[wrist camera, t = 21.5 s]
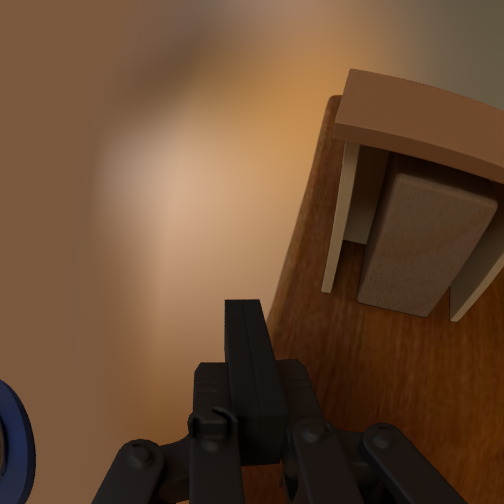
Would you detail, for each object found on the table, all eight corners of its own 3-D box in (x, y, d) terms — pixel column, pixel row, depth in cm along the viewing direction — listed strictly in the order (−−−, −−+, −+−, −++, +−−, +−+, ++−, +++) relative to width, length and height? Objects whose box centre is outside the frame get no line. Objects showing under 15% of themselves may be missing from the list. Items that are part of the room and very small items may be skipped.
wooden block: (355, 303, 39) (397, 176, 23) (365, 244, 45) (395, 121, 29) (426, 319, 36) (500, 206, 21) (428, 259, 42) (479, 145, 26)
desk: (461, 336, 34) (571, 196, 15) (311, 302, 40) (334, 121, 20) (459, 258, 42) (526, 120, 23) (331, 227, 47) (350, 68, 28)
